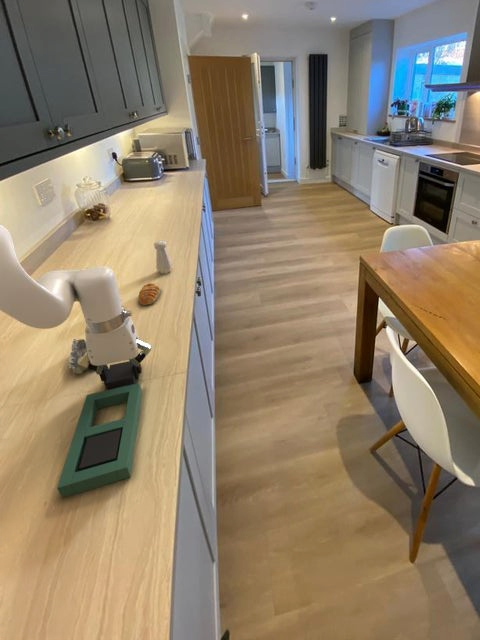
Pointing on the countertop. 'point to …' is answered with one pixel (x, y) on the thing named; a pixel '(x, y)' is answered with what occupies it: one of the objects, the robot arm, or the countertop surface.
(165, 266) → the salt shaker
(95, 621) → the countertop surface
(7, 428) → the countertop surface
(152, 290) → the pastry
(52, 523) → the countertop surface
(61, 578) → the countertop surface
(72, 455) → the green double tile frame
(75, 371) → the egg carton
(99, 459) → the pad
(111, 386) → the pad
